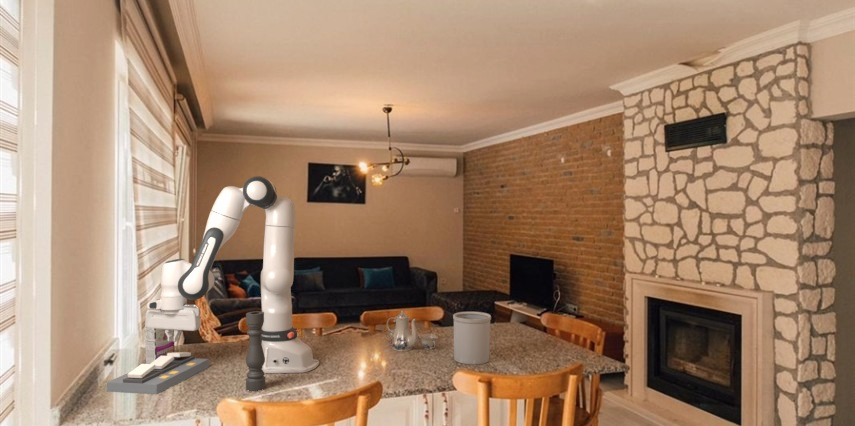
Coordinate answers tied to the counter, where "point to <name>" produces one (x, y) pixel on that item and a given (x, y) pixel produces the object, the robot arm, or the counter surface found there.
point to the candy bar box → (157, 344)
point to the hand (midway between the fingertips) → (172, 341)
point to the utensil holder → (471, 337)
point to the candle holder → (255, 352)
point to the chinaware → (408, 335)
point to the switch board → (159, 376)
